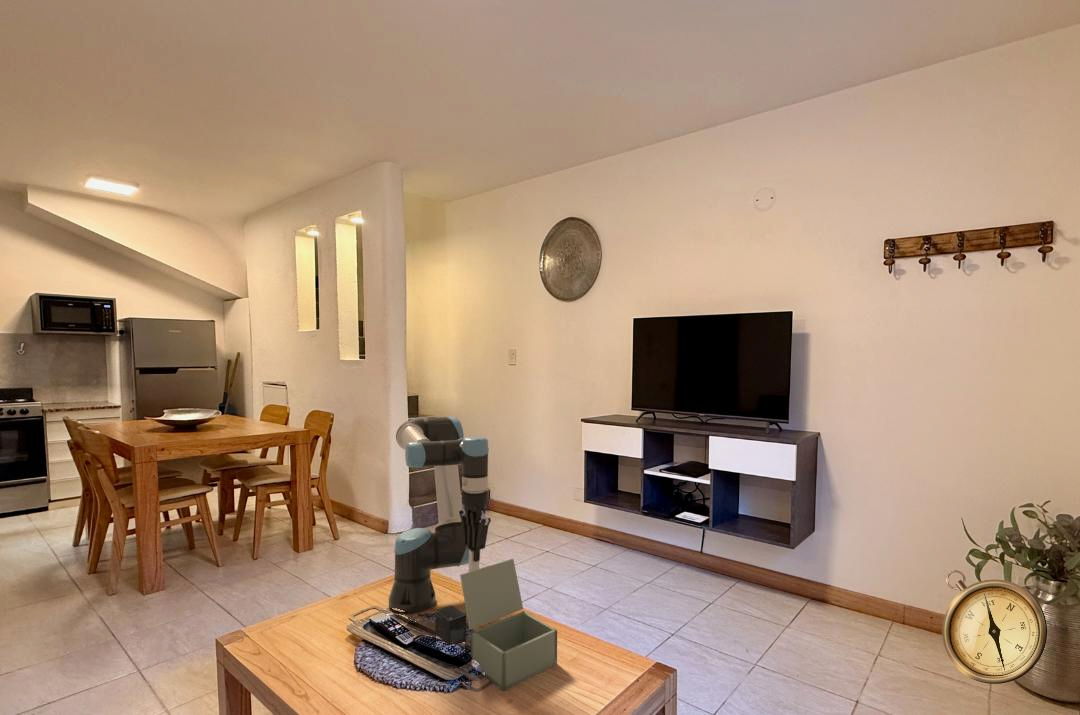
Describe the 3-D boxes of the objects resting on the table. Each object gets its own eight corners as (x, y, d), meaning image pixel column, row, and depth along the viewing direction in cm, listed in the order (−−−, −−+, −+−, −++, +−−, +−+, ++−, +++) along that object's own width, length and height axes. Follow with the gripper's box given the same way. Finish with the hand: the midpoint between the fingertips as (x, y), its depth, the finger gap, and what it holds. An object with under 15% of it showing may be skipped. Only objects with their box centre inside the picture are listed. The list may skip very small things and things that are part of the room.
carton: (470, 665, 138) (471, 632, 138) (523, 642, 150) (523, 611, 150) (503, 690, 128) (503, 654, 128) (556, 663, 140) (557, 630, 140)
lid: (470, 629, 138) (469, 629, 139) (523, 608, 150) (521, 608, 151) (461, 574, 142) (459, 574, 143) (513, 558, 154) (511, 558, 155)
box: (466, 653, 144) (466, 614, 144) (448, 660, 141) (448, 620, 141) (452, 641, 150) (452, 604, 151) (434, 647, 147) (434, 609, 147)
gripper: (451, 488, 156) (450, 568, 156) (477, 496, 146) (476, 581, 146) (472, 484, 161) (471, 561, 161) (498, 492, 151) (497, 574, 151)
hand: (473, 571), depth 153 cm, fingers closed
